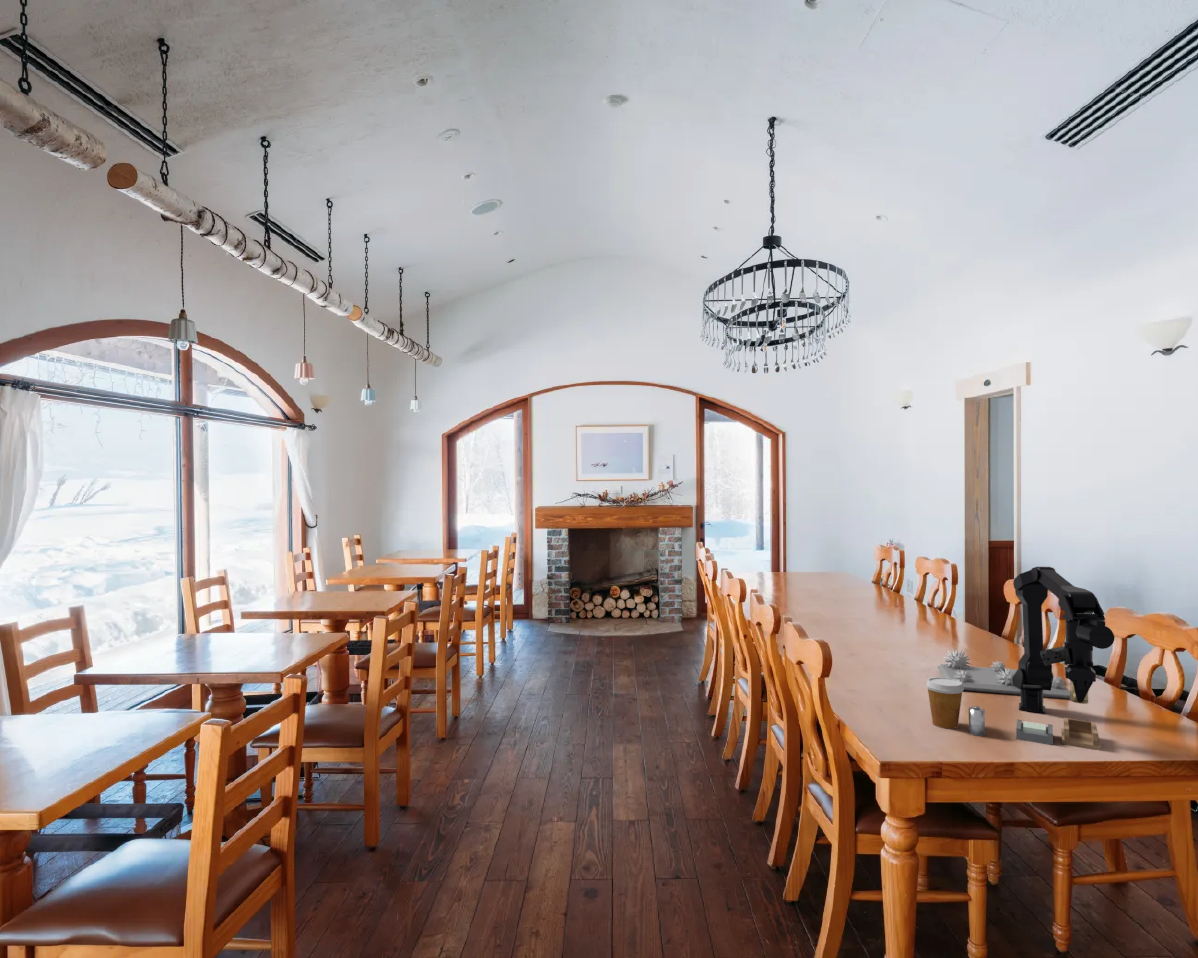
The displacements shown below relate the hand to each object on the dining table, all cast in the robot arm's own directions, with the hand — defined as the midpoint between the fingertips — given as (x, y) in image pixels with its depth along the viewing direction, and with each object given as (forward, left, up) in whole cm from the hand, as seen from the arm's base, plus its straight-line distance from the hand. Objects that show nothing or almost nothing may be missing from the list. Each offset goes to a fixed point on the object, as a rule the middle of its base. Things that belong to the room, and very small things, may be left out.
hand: (1079, 699), depth 180 cm
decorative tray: (-48, -20, -11) cm, 53 cm away
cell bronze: (0, 0, 0) cm, 0 cm away
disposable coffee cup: (+5, -31, -11) cm, 33 cm away
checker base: (+3, -10, -11) cm, 15 cm away
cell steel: (+8, -23, -11) cm, 27 cm away
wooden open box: (0, 0, -10) cm, 11 cm away
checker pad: (+3, -10, -9) cm, 13 cm away
